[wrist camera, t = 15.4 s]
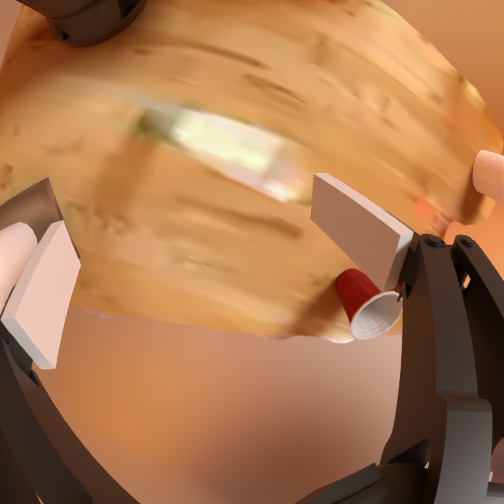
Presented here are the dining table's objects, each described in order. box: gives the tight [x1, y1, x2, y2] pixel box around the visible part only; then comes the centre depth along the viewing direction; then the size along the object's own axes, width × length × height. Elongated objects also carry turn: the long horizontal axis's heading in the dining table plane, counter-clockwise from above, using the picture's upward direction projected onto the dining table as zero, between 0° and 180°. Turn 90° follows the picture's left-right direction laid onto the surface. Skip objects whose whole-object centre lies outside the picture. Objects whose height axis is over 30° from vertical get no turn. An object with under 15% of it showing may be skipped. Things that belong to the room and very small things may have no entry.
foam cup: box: [0, 222, 38, 314], centre depth 24 cm, size 10×9×13 cm
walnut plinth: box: [0, 178, 80, 259], centre depth 32 cm, size 14×14×4 cm
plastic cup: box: [336, 269, 403, 341], centre depth 45 cm, size 11×11×12 cm
